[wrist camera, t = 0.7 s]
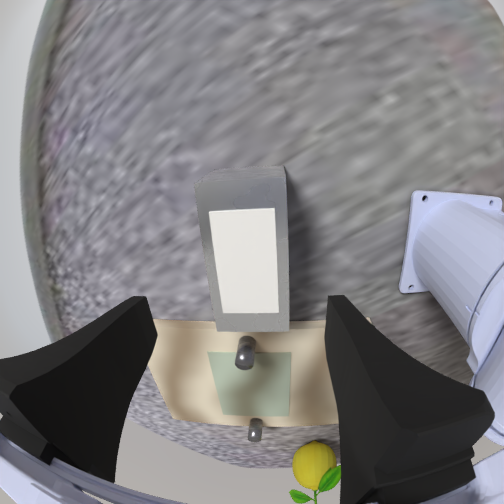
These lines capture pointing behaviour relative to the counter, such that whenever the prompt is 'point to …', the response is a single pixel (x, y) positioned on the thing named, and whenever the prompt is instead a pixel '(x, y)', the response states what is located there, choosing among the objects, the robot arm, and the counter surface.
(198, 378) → the pin tray
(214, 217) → the block
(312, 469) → the lemon
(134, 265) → the counter surface
